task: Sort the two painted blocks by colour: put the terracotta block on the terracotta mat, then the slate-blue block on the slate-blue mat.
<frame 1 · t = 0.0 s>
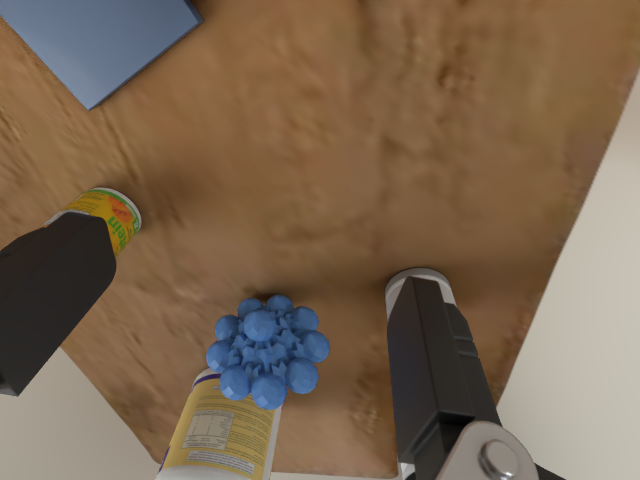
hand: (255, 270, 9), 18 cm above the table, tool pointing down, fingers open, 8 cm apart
grapes: (277, 289, 36), on the table
travel mug: (418, 288, 34), on the table
supplement tub: (241, 384, 48), on the table
supplement bottle: (114, 210, 32), on the table
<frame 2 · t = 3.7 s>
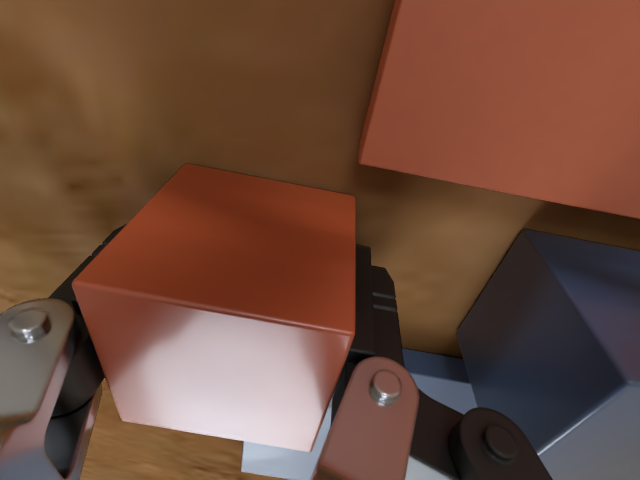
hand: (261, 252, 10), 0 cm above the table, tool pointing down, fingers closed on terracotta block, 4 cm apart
slate block: (555, 299, 11), on the table
slate mat: (379, 422, 16), on the table
terracotta block: (265, 245, 10), on the table, touching gripper
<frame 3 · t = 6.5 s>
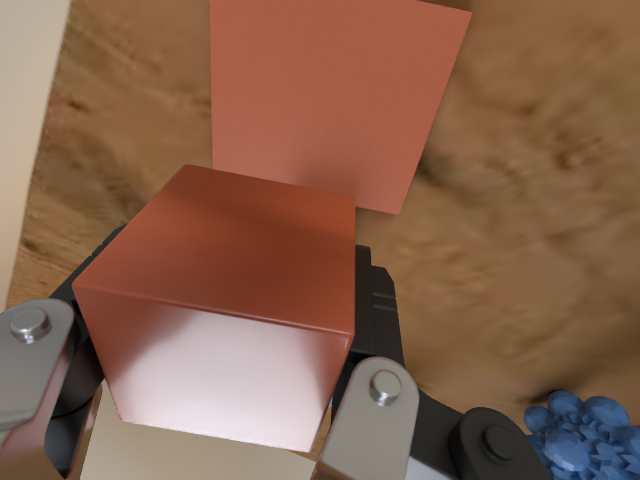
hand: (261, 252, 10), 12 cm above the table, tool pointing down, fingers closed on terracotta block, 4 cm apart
grapes: (547, 387, 34), on the table
terracotta mat: (322, 104, 19), on the table
terracotta block: (264, 246, 10), point 12 cm above the table, touching gripper
when the fingers open (1 cm above the table, at t = 9.6 s): terracotta block stays where it is, resting on terracotta mat.
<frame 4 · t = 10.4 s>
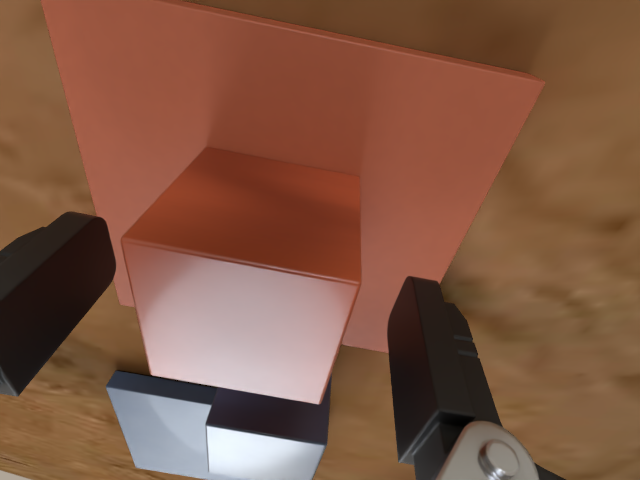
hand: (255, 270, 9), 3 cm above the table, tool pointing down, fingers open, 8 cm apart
slate block: (281, 362, 17), on the table
slate mat: (222, 433, 23), on the table
terracotta mat: (279, 208, 12), on the table
terracotta block: (276, 224, 11), point 1 cm above the table, touching terracotta mat
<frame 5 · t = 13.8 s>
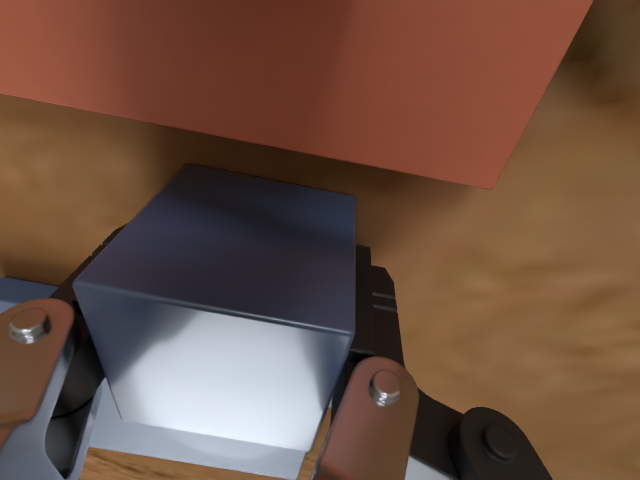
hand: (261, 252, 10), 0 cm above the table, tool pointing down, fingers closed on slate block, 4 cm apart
slate block: (265, 245, 10), on the table, touching gripper
slate mat: (184, 388, 16), on the table
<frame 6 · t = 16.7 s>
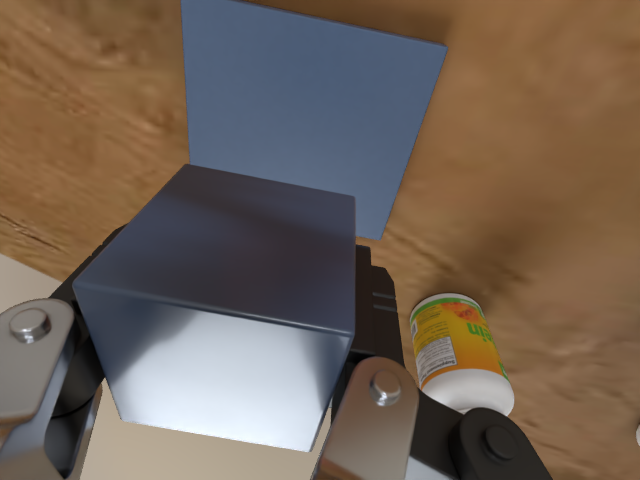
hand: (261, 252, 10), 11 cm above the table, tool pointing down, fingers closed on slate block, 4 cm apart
slate block: (265, 245, 10), point 11 cm above the table, touching gripper
slate mat: (301, 132, 19), on the table
supplement bottle: (444, 313, 27), on the table
when the fingers open (1 cm above the table, at t = 19.5 s): slate block stays where it is, resting on slate mat.
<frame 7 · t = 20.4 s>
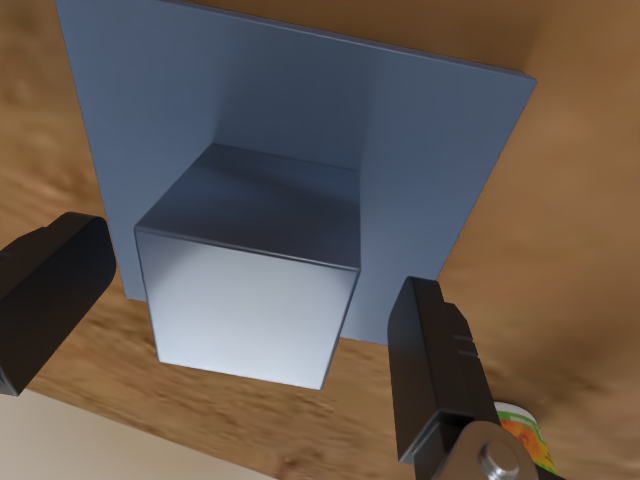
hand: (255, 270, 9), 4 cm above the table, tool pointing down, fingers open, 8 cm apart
slate block: (278, 218, 12), point 1 cm above the table, touching slate mat
slate mat: (282, 203, 12), on the table
supplement bottle: (482, 419, 20), on the table
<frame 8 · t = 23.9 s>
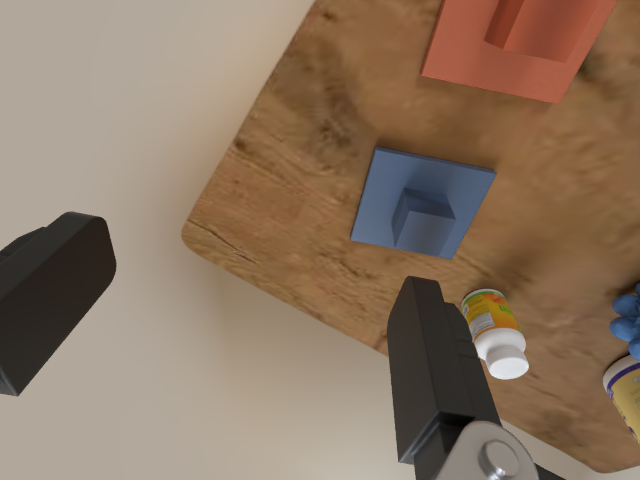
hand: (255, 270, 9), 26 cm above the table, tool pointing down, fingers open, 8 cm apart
slate block: (417, 210, 37), point 1 cm above the table, touching slate mat
grapes: (635, 277, 41), on the table
slate mat: (416, 205, 37), on the table
supplement bottle: (482, 301, 45), on the table
terracotta mat: (519, 12, 27), on the table
terracotta block: (525, 13, 26), point 1 cm above the table, touching terracotta mat
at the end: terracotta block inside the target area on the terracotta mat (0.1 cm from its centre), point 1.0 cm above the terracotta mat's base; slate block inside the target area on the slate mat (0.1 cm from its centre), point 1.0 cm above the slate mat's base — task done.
